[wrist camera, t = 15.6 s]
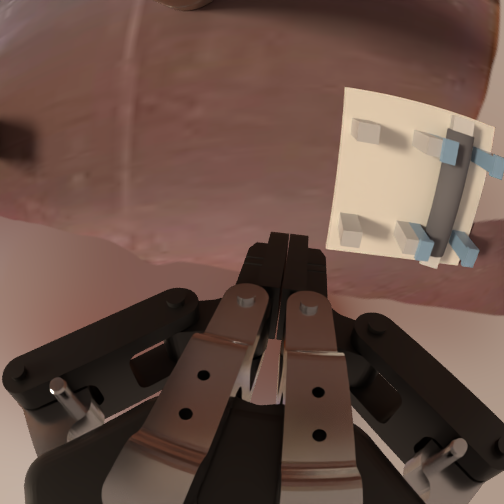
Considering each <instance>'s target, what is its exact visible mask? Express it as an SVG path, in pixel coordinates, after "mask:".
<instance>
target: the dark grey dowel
mask: <svg viewBox="0 0 504 504" xmlns="http://www.w3.org/2000/svg"><path fill="white" fill-rule="evenodd" d="M474 125H475V122H473V121H471V120H468V119H465V118H462V117H459V116H456V115H452V116H451V124H450V128H447V134H446V138H447V139H450V140H453V141H457V142H459V148H458V153H457V158H456V164H455V166H454V165H450V164H447V163H443V162H442V163H441V168H440V173H439V177H438V182H437V186H436V191H435V195H434V199H433V203H432V207H431V210H430V214H429V218H428V221H427V225H426V228H425V233H426V234H427V236H428V237H429V239H430V240H433V242H434V245H433V248H432V251H431V254H430V257H429V260H428V262H427V261H420V264H422V265H426V266H429V267H432V268H435V269H437V266H438V264H439V261H440V258H441V257H442V256H443V255H444V252H445V249H446V246H447V244H448V241H449V238H450V235H451V232H452V229H453V225H454V222H455V219H456V216H457V212H458V209H459V205H460V201H461V198H462V194H463V190H464V186H465V182H466V178H467V173H468V169H469V164H470V159H471V154H472V148H473V143H474V137H473V131H474Z"/></svg>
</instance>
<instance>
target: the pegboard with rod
mask: <svg viewBox="0 0 504 504" xmlns="http://www.w3.org/2000/svg"><path fill="white" fill-rule="evenodd" d="M452 115H456V116H459V117H462V118H465V119H468V120H471V121H473V122H475V125H474V131H473V137H474V143H473V148H472V154H471V159H470V164H469V169H468V173H467V178H466V182H465V186H464V190H463V194H462V198H461V201H460V205H459V209H458V212H457V216H456V219H455V222H454V225H453V229H452V232H451V235H450V238H449V241H448V244H447V246H446V249H445V252H444V255H443V256H442V257H441V258H440V261H439V263H443V264H451V265H458V263H459V261H460V260H461V265H462V266H465V267H472V268H473V265H474V263H475V260H476V258H477V256H478V253H479V249H478V248H477V247H476V245H475V244H474V243H473V242H472V240H471V239H470V238H469V237H468V236H469V233H470V230H471V227H472V224H473V221H474V218H475V215H476V212H477V208H478V205H479V201H480V197H481V193H482V190H483V186H484V182H485V178H486V174H487V171H488V172H489V175H490V176H491V177H495V178H498V179H500V180H502V177H503V172H504V158H503V157H501V156H498V155H495V154H491V150H492V144H493V138H494V132H495V128H494V127H492V126H489V125H487V124H485V123H482V122H479V121H477V120H474V119H471V118H468V117H466V116H463V115H460V114H457V113H454V112H451V111H448V110H444V109H441V108H438V107H435V106H431V105H428V104H424V103H420V102H416V101H413V100H409V99H404V98H400V97H396V96H391V95H387V94H382V93H377V92H372V91H366V90H360V89H354V88H348V87H345V92H344V105H343V117H342V128H341V139H340V148H339V157H338V166H337V174H336V182H335V189H334V196H333V203H332V210H331V217H330V223H329V230H328V236H327V242H326V249H331V250H339V251H348V252H356V253H364V254H372V255H380V256H388V257H396V258H404V259H412V260H419V261H427V262H428V260H429V257H430V254H431V251H432V248H433V245H434V242H433V240H430V239H429V237H428V236H427V234H426V233H425V228H426V225H427V221H428V218H429V214H430V210H431V207H432V203H433V199H434V195H435V191H436V186H437V182H438V177H439V173H440V168H441V163H442V162H443V163H447V164H450V165H454V166H455V164H456V158H457V153H458V148H459V142H457V141H453V140H450V139H447V138H446V134H447V128H450V124H451V116H452Z"/></svg>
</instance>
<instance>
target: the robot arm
mask: <svg viewBox="0 0 504 504" xmlns="http://www.w3.org/2000/svg"><path fill="white" fill-rule="evenodd" d="M153 1H156V2H158V3H160V4H163V5H165V6H167V7H169V8H172V9H175V10H181V11H186V10H193V9H198V8H200V7H203V6H205V5H207V4H208V3H210V2H212V1H213V0H153ZM288 241H289V234H287V233H278V232H271V234H270V238H269V241H268V244H267V243H258V242H257V243H255V244H254V245H253V246H251V247H250V248H249V250H248V253H247V256H246V258H245V261H244V264H243V266H242V269H241V272H240V274H239V277H238V280H237V283H236V285H234V286H232V287H230V288H229V289H228V290H227V291H226V292H225V294H224V296H223V298H220V299H216V300H205V301H198V297H197V295H196V294H195V293H194V292H192V291H191V290H188V289H185V288H173V289H169V290H166V291H164V292H162V293H159V294H157V295H155V296H153V297H150V298H148V299H146V300H144V301H141V302H139V303H137V304H135V305H132V306H130V307H128V308H126V309H124V310H121V311H119V312H117V313H115V314H112V315H110V316H108V317H106V318H103V319H101V320H99V321H97V322H95V323H92V324H90V325H88V326H86V327H83V328H81V329H79V330H77V331H74V332H72V333H70V334H68V335H66V336H63V337H61V338H59V339H57V340H54V341H52V342H50V343H48V344H46V345H43V346H41V347H39V348H37V349H34V350H32V351H30V352H28V353H26V354H23V355H21V356H19V357H16V358H15V359H13V360H12V361H10V362H9V364H8V365H7V366H6V367H5V369H4V372H3V376H2V382H3V385H4V387H5V389H6V390H7V391H8V392H9V393H10V394H11V395H12V397H13V398H14V399H15V400H16V401H17V402H18V404H19V405H20V406H21V407H22V409H23V411H24V415H25V418H26V422H27V425H28V429H29V432H30V435H31V438H32V441H33V445H34V448H35V451H36V454H37V456H38V458H37V459H36V460H35V461H34V462H33V463H32V464H31V466H30V467H29V469H28V471H27V474H26V477H25V484H24V490H25V504H468V503H469V502H470V500H471V499H472V498H473V496H474V495H475V494H476V493H477V491H478V490H479V489H480V487H481V486H482V484H483V483H484V482H486V481H487V480H489V479H491V478H492V477H494V476H496V475H497V474H499V473H501V472H502V471H504V423H503V422H502V421H501V420H500V419H499V418H498V417H497V416H496V415H495V414H494V413H493V412H492V411H491V410H490V409H489V408H488V407H487V406H486V405H485V404H484V403H482V402H481V401H480V400H479V399H478V398H477V397H476V396H475V395H474V394H473V393H472V392H471V391H470V390H469V389H467V387H465V385H463V384H462V383H461V382H460V381H459V380H458V379H457V378H456V377H455V376H454V375H452V373H450V372H449V371H448V370H447V369H446V368H445V367H444V366H443V365H442V364H441V363H439V362H438V361H437V360H436V359H435V358H434V357H433V356H432V355H431V354H429V353H428V352H427V351H426V350H425V349H424V348H423V347H422V346H420V345H419V344H418V343H417V342H416V341H415V340H414V339H412V338H411V337H410V336H409V335H408V334H407V333H406V332H404V331H403V330H402V329H401V328H400V327H399V326H398V325H396V324H395V323H394V322H393V321H392V320H391V319H389V318H388V317H386V316H384V315H382V314H378V313H365V314H362V315H360V316H359V317H358V318H357V319H356V320H353V319H350V318H348V317H345V316H342V315H340V314H338V313H337V312H336V311H334V310H333V309H332V307H331V304H330V302H329V300H328V299H327V274H326V257H325V256H324V254H323V253H322V251H321V250H320V249H312V248H308V236H305V235H296V234H290V241H289V248H288ZM287 251H288V255H287ZM286 260H287V261H286ZM280 303H281V305H280ZM279 309H280V314H279ZM278 315H279V322H278V330H277V340H282V341H281V348H280V355H279V366H278V383H277V397H276V404H273V405H256V404H253V403H250V399H251V396H252V392H253V389H254V386H255V383H256V380H257V376H258V374H259V371H260V367H261V364H262V361H263V358H264V351H265V349H266V347H267V342H268V338H269V339H274V338H275V333H276V326H277V321H278ZM163 340H164V344H162V345H160V346H158V347H156V348H154V349H152V350H150V351H148V352H146V353H144V354H142V355H140V356H138V357H136V358H134V359H132V360H131V358H132V357H133V356H134V355H135V354H137V353H139V352H141V351H143V350H145V349H147V348H149V347H151V346H153V345H155V344H157V343H159V342H161V341H163ZM379 373H380V374H381V375H382V376H383V377H384V378H385V379H386V380H387V381H388V382H389V383H390V384H391V385H392V386H393V387H394V388H395V389H396V390H397V391H396V390H395V389H394V388H393V387H392V386H391V385H390V384H389V383H388V382H387V381H386V380H385V379H384V378H383V377H382V376H381V375H380V374H379ZM160 390H162V391H161V393H160V395H159V396H157V397H154V398H152V399H149V400H147V401H145V402H143V403H141V404H140V405H138V406H136V407H134V408H132V409H131V410H129V411H127V412H126V413H123V414H122V415H120V416H118V417H116V418H114V419H112V420H110V421H109V422H107V423H105V424H104V420H105V419H106V418H108V417H110V416H112V415H114V414H116V413H118V412H120V411H122V410H124V409H126V408H128V407H130V406H132V405H134V404H136V403H138V402H140V401H142V400H143V399H145V398H147V397H149V396H151V395H153V394H155V393H157V392H159V391H160ZM351 405H352V406H353V408H354V409H355V410H356V411H357V412H358V413H359V414H360V415H361V417H362V418H363V419H364V420H365V421H366V422H367V423H368V424H369V426H370V427H371V428H372V429H373V430H374V431H375V432H376V433H377V434H378V435H379V437H380V438H381V439H382V440H383V441H384V442H385V443H386V444H387V445H388V446H389V447H390V449H391V450H392V451H393V452H394V453H395V454H396V455H397V456H398V457H399V458H400V460H401V461H403V463H404V464H405V467H404V471H403V476H402V475H401V474H400V473H399V472H398V470H397V469H396V468H395V467H394V466H393V464H392V463H391V462H390V461H389V460H388V458H387V457H386V456H385V455H384V454H383V453H382V451H381V450H380V449H379V448H378V447H377V445H376V444H375V443H374V442H373V440H372V439H371V438H370V437H369V436H368V435H367V434H366V433H365V432H364V431H363V430H362V429H361V428H359V427H358V426H357V425H355V424H353V418H352V408H351Z"/></svg>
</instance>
